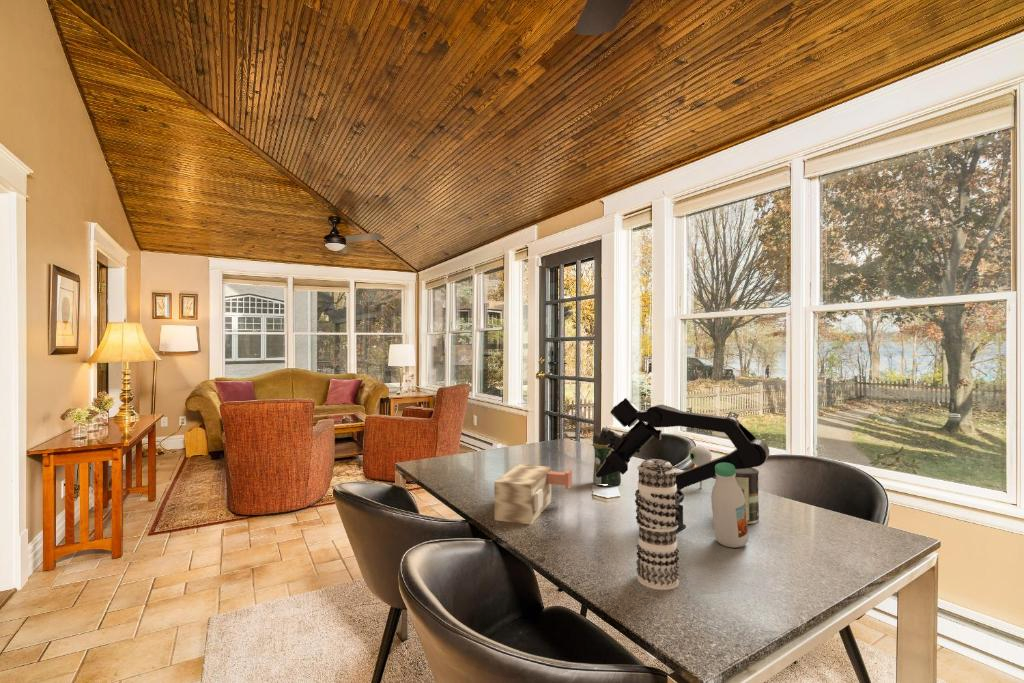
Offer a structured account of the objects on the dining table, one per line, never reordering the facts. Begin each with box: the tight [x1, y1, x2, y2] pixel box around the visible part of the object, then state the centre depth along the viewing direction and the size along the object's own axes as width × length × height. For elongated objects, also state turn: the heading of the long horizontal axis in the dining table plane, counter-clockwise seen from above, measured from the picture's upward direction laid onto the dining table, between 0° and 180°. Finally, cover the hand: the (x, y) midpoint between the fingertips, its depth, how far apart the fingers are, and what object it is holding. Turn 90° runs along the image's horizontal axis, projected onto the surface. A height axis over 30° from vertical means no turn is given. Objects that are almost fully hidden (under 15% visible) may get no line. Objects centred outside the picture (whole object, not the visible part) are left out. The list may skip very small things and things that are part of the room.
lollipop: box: [689, 445, 713, 489], centre depth 167 cm, size 7×7×15 cm
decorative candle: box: [634, 458, 680, 591], centre depth 101 cm, size 9×9×25 cm
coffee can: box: [735, 467, 760, 525], centre depth 138 cm, size 10×10×14 cm
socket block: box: [493, 463, 552, 526], centre depth 145 cm, size 11×22×11 cm, turn 161°
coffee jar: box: [592, 432, 622, 486], centre depth 173 cm, size 10×8×19 cm
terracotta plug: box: [547, 469, 573, 490], centre depth 150 cm, size 12×5×5 cm, turn 71°
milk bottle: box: [710, 463, 749, 549], centre depth 118 cm, size 8×8×20 cm
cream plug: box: [533, 489, 543, 511], centre depth 137 cm, size 12×5×5 cm, turn 71°
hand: (596, 476), depth 138 cm, fingers closed
